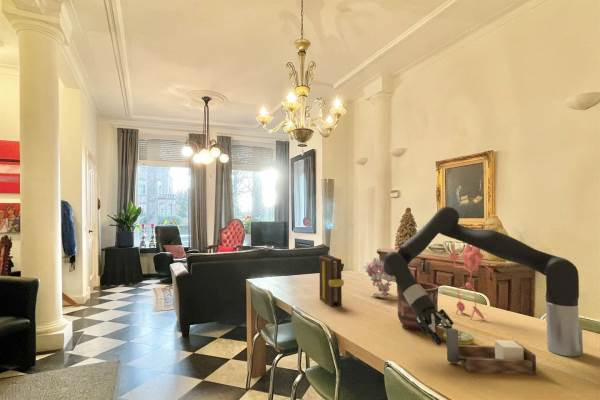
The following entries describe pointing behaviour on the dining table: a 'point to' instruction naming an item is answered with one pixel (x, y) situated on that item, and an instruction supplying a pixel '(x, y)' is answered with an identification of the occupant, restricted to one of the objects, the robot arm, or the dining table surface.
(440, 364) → the dining table surface
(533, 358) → the walnut lane
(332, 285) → the book
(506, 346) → the block with knobbed rod
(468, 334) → the decorated donut
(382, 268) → the flower
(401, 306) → the pottery
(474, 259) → the figurine
